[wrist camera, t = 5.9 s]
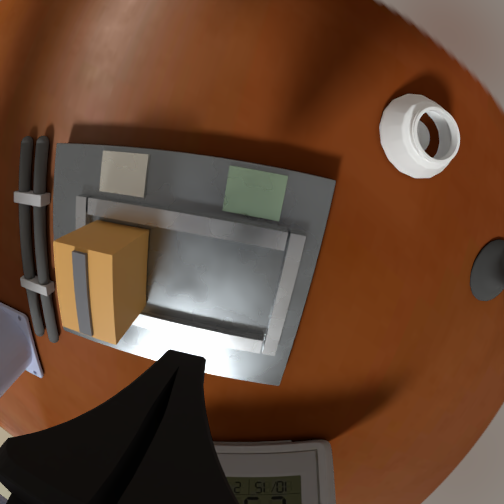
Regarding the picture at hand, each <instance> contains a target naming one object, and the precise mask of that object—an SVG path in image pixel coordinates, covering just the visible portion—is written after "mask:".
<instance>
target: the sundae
mask: <svg viewBox="0 0 504 504" xmlns="http://www.w3.org/2000/svg"><path fill="white" fill-rule="evenodd" d="M470 286H471V290H472V293H473V295H474V296H475V297H476V298H477V299H478V300H481V301H488V300H491V299H493V298H495V297H496V296H497V295H499V294H500V292H501V291H502V290H503V289H504V241H503V240H494V241H492V242H490V243H489V244H487V245H486V246H485V247H484V248H483V249H482V250H481V252H480V253H479V255H478V256H477V258H476V260H475V262H474V265H473V268H472V271H471V278H470Z"/></svg>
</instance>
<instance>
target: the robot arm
mask: <svg viewBox="0 0 504 504" xmlns="http://www.w3.org/2000/svg"><path fill="white" fill-rule="evenodd" d="M205 367H206V359H205V358H204V357H203V356H198V355H194V354H189V353H185V352H181V351H177V350H172V349H169V350H167V351H166V352H165V353H164V354H163V355H162V356H161V357H160V358H159V359H158V360H157V361H156V362H155V363H154V364H153V365H152V366H151V367H150V368H149V369H147V370H146V371H145V372H144V373H143V374H142V375H140V376H139V377H138V378H137V379H136V380H135V381H133V382H132V383H131V384H130V385H128V386H127V387H126V388H124V389H123V390H121V391H120V392H119V393H117V394H116V395H115V396H113V397H112V398H110V399H109V400H107V401H106V402H104V403H102V404H101V405H99V406H97V407H96V408H94V409H92V410H90V411H88V412H86V413H84V414H82V415H80V416H78V417H76V418H74V419H72V420H70V421H67V422H65V423H62V424H59V425H57V426H54V427H51V428H48V429H45V430H42V431H39V432H35V433H31V434H26V435H22V436H17V437H12V438H8V439H7V440H6V441H5V442H4V443H3V445H2V446H1V447H0V482H1V483H2V484H3V485H4V486H5V487H6V488H7V489H8V490H9V491H10V492H11V493H12V494H11V496H10V497H9V499H8V500H7V499H6V498H4V497H3V496H2V495H1V494H0V504H239V502H238V500H237V498H236V497H235V495H234V493H233V491H232V489H231V487H230V485H229V483H228V480H227V478H226V476H225V473H224V471H223V469H222V466H221V464H220V461H219V459H218V456H217V453H216V450H215V447H214V443H213V440H212V437H211V433H210V429H209V424H208V419H207V414H206V408H205V400H204V389H203V383H204V375H205ZM25 370H27V371H28V372H30V373H32V374H34V375H36V376H38V377H40V378H42V377H43V376H44V375H43V371H42V368H41V365H40V362H39V358H38V355H37V351H36V348H35V344H34V340H33V337H32V333H31V328H30V324H29V320H28V317H27V316H26V315H25V314H24V313H21V312H19V311H17V310H15V309H13V308H11V307H9V306H7V305H5V304H3V303H1V302H0V397H1V396H2V395H3V394H4V393H5V392H6V391H7V389H8V388H9V387H10V386H11V385H12V384H13V383H14V382H15V381H16V379H17V378H18V377H19V376H20V375H21V374H22V373H23V372H24V371H25Z"/></svg>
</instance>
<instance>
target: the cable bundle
mask: <svg viewBox="0 0 504 504" xmlns="http://www.w3.org/2000/svg"><path fill="white" fill-rule="evenodd" d="M48 148H49V139H48V138H47V137H46V136H41V137H39V138H38V140H37V142H36V152H35V165H34V189H33V191H32V190H30V184H31V163H32V150H33V139H32V138H31V137H30V136H26V137H24V138H23V139H22V142H21V151H20V166H19V191H15V192H14V202H15V203H19V226H20V242H21V253H22V262H23V270H24V276H22V277H20V281H21V286H22V287H24V288H26V291H27V297H28V302H29V307H30V312H31V317H32V322H33V326H34V331H35V334H36V335H37V336H43V335H44V326H43V322H42V317H41V311H40V306H39V300H38V294H37V293H39V294H40V295H41V301H42V307H43V313H44V318H45V323H46V328H47V333H48V337H49V340H50V341H51V342H53V343H56V342H57V341H58V340H59V335H58V330H57V325H56V320H55V314H54V308H53V301H52V294H51V293H53V292H54V291H55V286H54V282H53V281H50V278H49V268H48V257H47V241H46V205H48V204H50V193H47V192H46V175H47V160H48ZM30 205H32V206H33V215H34V239H35V253H36V264H37V273H38V276H36V275H35V272H34V263H33V252H32V239H31V217H30Z"/></svg>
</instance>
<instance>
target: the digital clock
mask: <svg viewBox="0 0 504 504" xmlns="http://www.w3.org/2000/svg"><path fill="white" fill-rule="evenodd" d="M213 443H214V447H215V450H216V453H217V456H218V459H219V461H220V464H221V466H222V469H223V471H224V473H225V476H226V478H227V480H228V483H229V485H230V487H231V489H232V491H233V493H234V495H235V497H236V498H237V500H238V502H239V504H336V501H335V485H334V471H333V459H332V449H331V445H330V443H329V442H328V441H326V440H321V439H320V440H308V441H297V442H292V440H285V441H266V442H213Z"/></svg>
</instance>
